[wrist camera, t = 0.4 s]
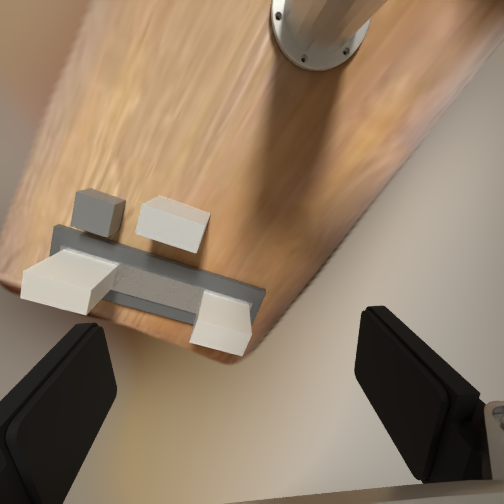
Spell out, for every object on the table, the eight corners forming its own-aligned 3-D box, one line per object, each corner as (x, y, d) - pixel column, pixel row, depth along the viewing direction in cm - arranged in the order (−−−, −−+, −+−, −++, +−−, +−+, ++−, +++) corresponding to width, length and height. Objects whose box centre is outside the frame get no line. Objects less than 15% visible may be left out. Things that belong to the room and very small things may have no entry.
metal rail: (62, 244, 40) (60, 245, 39) (252, 302, 45) (252, 303, 45) (57, 273, 41) (56, 274, 41) (242, 325, 47) (242, 327, 46)
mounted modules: (63, 249, 40) (23, 270, 32) (249, 305, 45) (251, 334, 37) (59, 272, 41) (20, 298, 33) (240, 324, 46) (242, 356, 38)
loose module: (159, 195, 39) (142, 203, 32) (210, 213, 41) (205, 225, 33) (153, 220, 41) (134, 234, 33) (202, 237, 42) (195, 254, 35)
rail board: (58, 224, 40) (53, 226, 39) (265, 289, 46) (265, 292, 45) (50, 280, 43) (45, 283, 42) (245, 334, 49) (245, 338, 48)
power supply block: (91, 188, 39) (76, 191, 35) (126, 200, 39) (114, 204, 36) (85, 219, 40) (70, 226, 36) (119, 230, 41) (107, 237, 37)
